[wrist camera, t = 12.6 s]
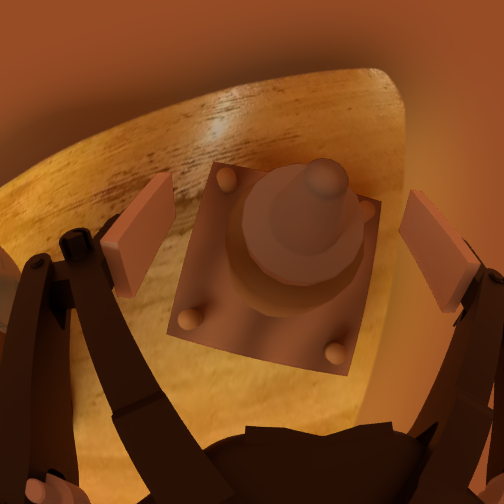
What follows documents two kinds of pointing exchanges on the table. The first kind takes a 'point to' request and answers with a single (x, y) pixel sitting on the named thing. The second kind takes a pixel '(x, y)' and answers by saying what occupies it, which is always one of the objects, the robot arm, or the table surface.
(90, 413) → the table surface
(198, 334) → the walnut stand
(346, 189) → the squeeze bottle
